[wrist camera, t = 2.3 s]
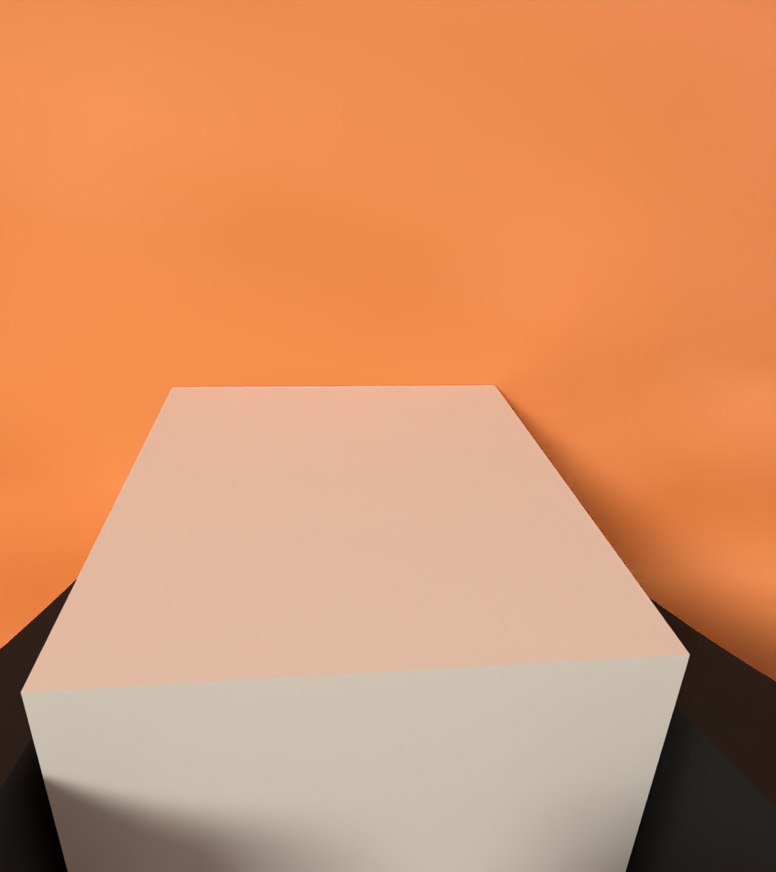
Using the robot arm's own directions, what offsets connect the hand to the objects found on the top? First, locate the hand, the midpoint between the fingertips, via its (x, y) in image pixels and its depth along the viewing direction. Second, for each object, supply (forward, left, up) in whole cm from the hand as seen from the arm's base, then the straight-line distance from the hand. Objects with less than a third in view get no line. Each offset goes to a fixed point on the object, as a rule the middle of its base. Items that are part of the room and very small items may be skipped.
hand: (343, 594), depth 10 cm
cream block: (0, 0, -2) cm, 2 cm away
